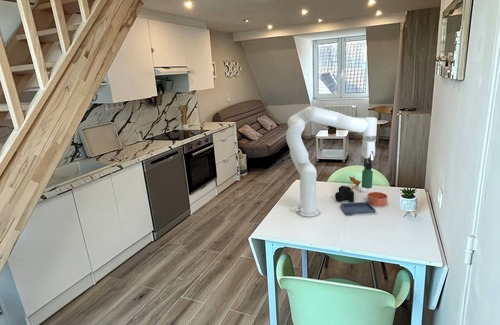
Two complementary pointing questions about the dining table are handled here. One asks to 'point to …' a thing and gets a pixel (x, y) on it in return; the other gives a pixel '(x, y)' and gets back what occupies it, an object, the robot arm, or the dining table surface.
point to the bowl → (377, 199)
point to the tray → (357, 208)
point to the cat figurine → (357, 184)
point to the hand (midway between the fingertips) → (367, 168)
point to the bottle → (367, 177)
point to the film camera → (344, 194)
